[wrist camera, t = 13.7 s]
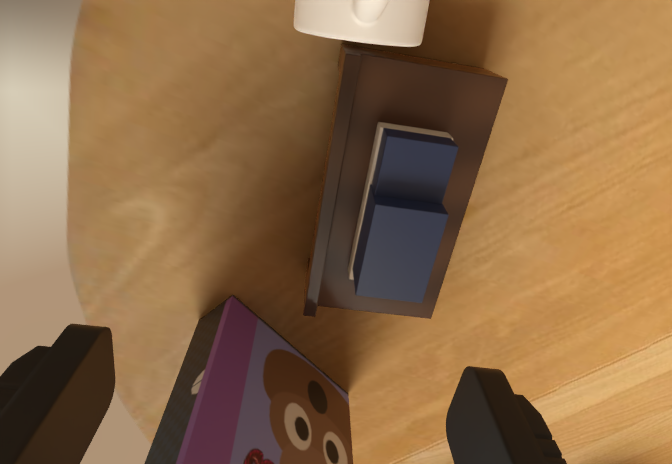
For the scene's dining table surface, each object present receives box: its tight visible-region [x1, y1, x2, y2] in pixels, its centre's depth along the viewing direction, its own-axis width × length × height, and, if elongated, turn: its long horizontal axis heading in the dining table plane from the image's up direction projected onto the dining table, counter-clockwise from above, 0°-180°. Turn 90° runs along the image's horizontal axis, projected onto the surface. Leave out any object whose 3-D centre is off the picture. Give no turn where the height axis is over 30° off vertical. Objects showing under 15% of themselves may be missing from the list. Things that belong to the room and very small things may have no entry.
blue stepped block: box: [348, 122, 459, 303], centre depth 32 cm, size 12×5×5 cm, turn 171°
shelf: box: [303, 44, 508, 319], centre depth 35 cm, size 20×11×6 cm, turn 171°
